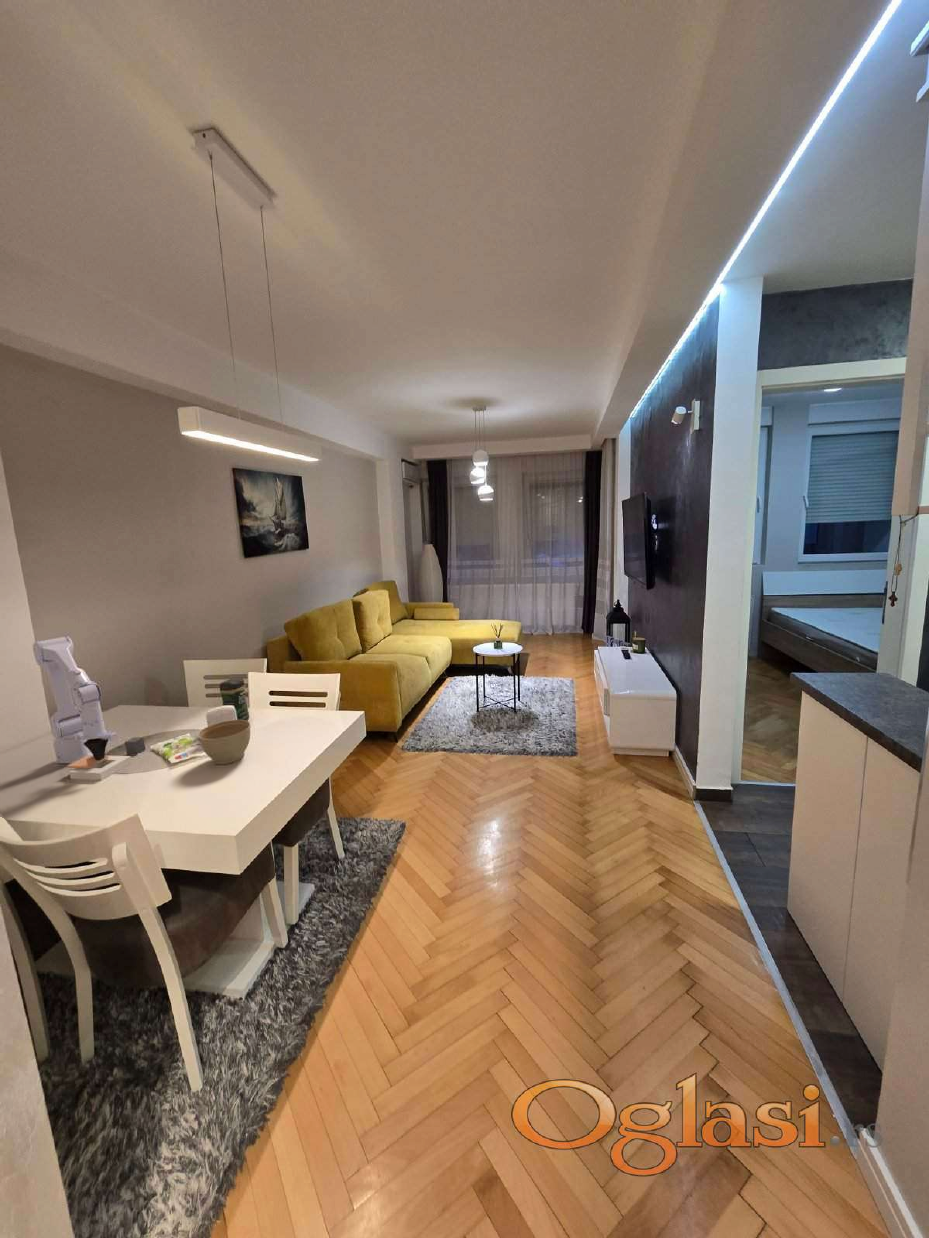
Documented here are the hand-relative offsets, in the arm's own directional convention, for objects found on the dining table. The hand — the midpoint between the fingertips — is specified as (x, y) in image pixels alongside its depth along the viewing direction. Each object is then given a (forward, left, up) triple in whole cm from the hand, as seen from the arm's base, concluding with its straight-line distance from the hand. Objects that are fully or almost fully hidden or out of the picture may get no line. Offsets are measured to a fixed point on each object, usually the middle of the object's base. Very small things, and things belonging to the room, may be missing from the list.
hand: (100, 759), depth 167 cm
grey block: (0, +14, -4) cm, 15 cm away
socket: (0, 0, -4) cm, 4 cm away
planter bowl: (+40, +11, -4) cm, 42 cm away
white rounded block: (+26, +28, -4) cm, 38 cm away
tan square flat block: (-5, 0, -1) cm, 5 cm away
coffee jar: (+21, +43, -4) cm, 48 cm away
